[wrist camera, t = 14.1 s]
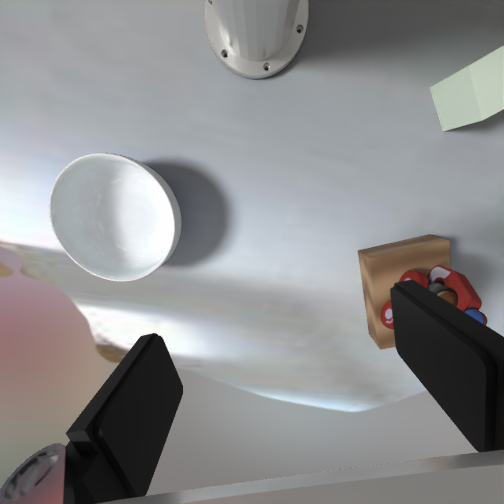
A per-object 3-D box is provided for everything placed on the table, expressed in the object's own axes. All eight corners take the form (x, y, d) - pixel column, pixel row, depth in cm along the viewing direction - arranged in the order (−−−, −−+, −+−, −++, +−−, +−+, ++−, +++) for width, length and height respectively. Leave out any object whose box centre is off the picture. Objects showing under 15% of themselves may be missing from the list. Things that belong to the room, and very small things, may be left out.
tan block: (357, 250, 37) (369, 258, 33) (429, 234, 36) (449, 240, 32) (369, 334, 42) (380, 349, 38) (433, 321, 40) (451, 336, 37)
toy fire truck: (455, 269, 33) (538, 306, 24) (410, 338, 37) (466, 395, 27) (412, 253, 33) (478, 284, 23) (370, 324, 36) (412, 378, 27)
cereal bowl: (128, 132, 33) (94, 119, 27) (213, 215, 36) (202, 222, 30) (65, 215, 37) (21, 222, 30) (146, 284, 40) (124, 304, 33)
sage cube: (429, 87, 31) (468, 66, 25) (476, 60, 30) (527, 31, 24) (442, 131, 32) (482, 120, 26) (487, 107, 31) (539, 89, 25)
